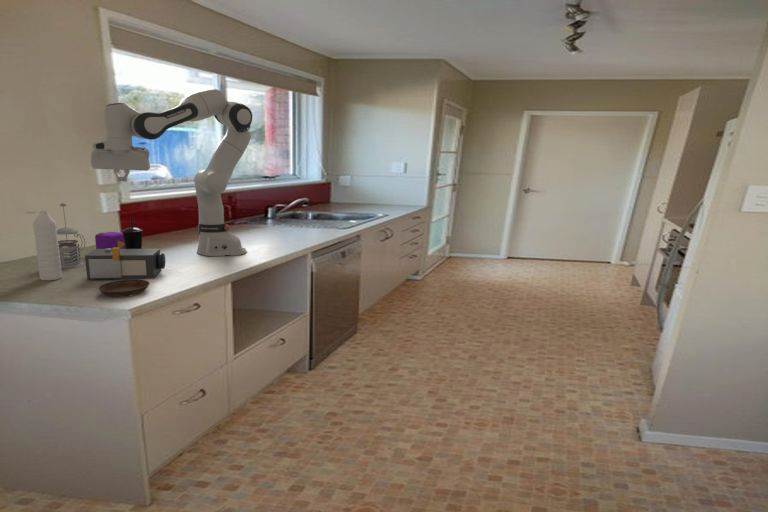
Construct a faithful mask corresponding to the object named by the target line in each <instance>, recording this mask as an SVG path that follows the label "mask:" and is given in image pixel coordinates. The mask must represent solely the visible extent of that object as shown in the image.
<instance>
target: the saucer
mask: <svg viewBox="0 0 768 512" xmlns="http://www.w3.org/2000/svg"><path fill="white" fill-rule="evenodd" d="M149 286H150V281H148V280H146V279H119V280H115V281H111V282H107V283H104V284H101V285H100V286H98V289H97V290H99V291H100V292H101V293H102V294H104V295H105V296H108V297H111V296H112V298H123V297H122V296H126V297H131V296H130V295H133V296H136V295H139V294H141V293H144V291H146V290H147V288H148V287H149Z"/></svg>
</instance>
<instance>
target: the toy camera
mask: <svg viewBox="0 0 768 512" xmlns="http://www.w3.org/2000/svg"><path fill="white" fill-rule="evenodd" d="M94 239H95V240H94V241H95V247H96V248H95V250H96V249H107V248H111V249H112V248H120V249H126V247H125V242H124V236H123V232H118V231H106V232H104V231H100V232H99V233H96V234H95V236H94Z"/></svg>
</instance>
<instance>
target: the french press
mask: <svg viewBox="0 0 768 512" xmlns="http://www.w3.org/2000/svg"><path fill="white" fill-rule="evenodd" d="M59 205H60V206H59V207H62V208H63V209H62V211H63V212H65V207H67V204H66V203H65V202H63V203H62V202H61V203H60V204H59ZM63 217H64V220H66V215H65V213H63ZM66 224H67V223H66V222H64V227H61V228H57V229H56V230H57V235H66V238H68V235H74V237H75V238H78V237H79V238H80V240H81V242H83V240H84V242H83V243H84V245H83V243H81V245H80V244H79V243H78V242H79V241H78V240H77V239H63V240H62V239H61V240H58V245H59V253H60V254H59V256H60V262H61V269H70V268H78V267H79V268H80V267H82V266H84V265H85V263H84V262H82V259H81V251H83V250H84V248H85V246H86V239H85V237H84V235H82V234H80V233H79V230H78V229H76V228H73V227H67V225H66ZM82 247H83V248H82ZM81 248H82V249H81Z"/></svg>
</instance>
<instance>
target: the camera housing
mask: <svg viewBox="0 0 768 512" xmlns="http://www.w3.org/2000/svg"><path fill="white" fill-rule="evenodd" d="M120 257H121V271H122V277H121V278H90V270H89V260H88V259H113V255H112V249H111V248H107V249H96V248H95V250H93V251H91V252H89V253H87V254H85V255H84V260H85V271H86V279H87V281H96V280H97V279H107V280H151V279H152V280H154V279H155V278H156V277H157V276H158V275H159V274H160V273H161V272H162V270H163V269H165V266H166V254H165V253H163V252H162V253H161V248H142V249H120ZM95 279H96V280H95Z"/></svg>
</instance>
